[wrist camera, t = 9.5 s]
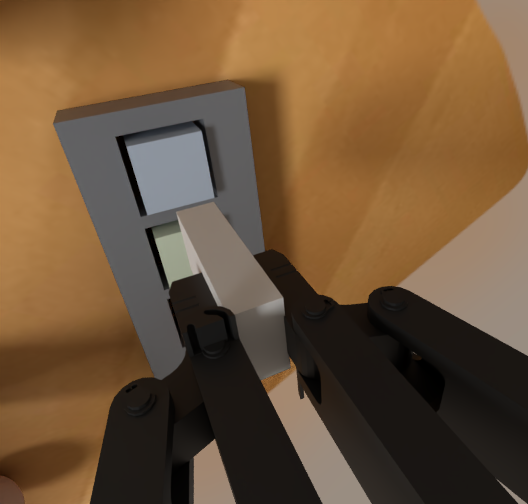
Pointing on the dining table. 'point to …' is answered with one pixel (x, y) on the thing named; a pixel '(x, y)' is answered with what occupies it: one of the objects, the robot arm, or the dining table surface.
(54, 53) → the dining table surface
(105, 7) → the dining table surface
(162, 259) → the key sage
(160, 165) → the key slate
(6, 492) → the egg
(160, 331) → the keypad
